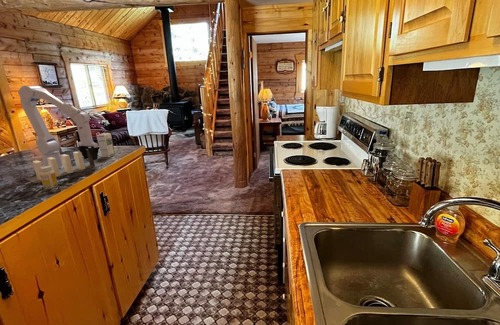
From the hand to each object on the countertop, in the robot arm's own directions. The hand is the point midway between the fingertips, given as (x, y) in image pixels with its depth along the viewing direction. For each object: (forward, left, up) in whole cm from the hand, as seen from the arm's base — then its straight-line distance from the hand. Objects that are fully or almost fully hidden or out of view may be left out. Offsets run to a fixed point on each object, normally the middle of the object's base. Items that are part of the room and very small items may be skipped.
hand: (91, 159), depth 146 cm
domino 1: (0, -24, -4) cm, 24 cm away
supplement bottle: (+15, -26, -4) cm, 30 cm away
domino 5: (0, 0, -4) cm, 4 cm away
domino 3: (0, -12, -4) cm, 13 cm away
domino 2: (0, -18, -4) cm, 18 cm away
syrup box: (-12, +16, -4) cm, 20 cm away
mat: (-3, -12, -4) cm, 13 cm away
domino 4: (0, -6, -4) cm, 7 cm away
